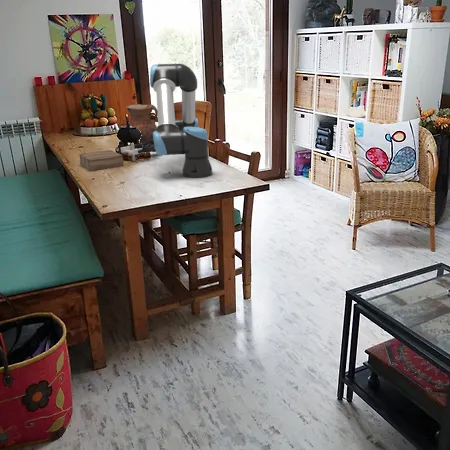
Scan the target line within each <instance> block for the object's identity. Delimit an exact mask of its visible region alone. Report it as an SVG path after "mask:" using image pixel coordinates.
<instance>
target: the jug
mask: <svg viewBox="0 0 450 450" xmlns="http://www.w3.org/2000/svg"><path fill="white" fill-rule="evenodd" d="M125 109H126V110H127V112H128V113H129V121H128V123H129V125H130V126H132V127H136V128H137V129H138V130H140V131H141V135H142V136H141V139H140V143H143V144H145V143H148V142H149V140H151V139H153V132H154V131H156V127H157V126H158V125H157V124H156V122H157V120H158V111H157V106H155V105H154V104H139V103H137V104H136V103H135V104H129V105H126V106H125ZM152 111H154V117H153V118H151V112H152Z"/></svg>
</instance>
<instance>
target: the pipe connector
mask: <svg viewBox="0 0 450 450" xmlns="http://www.w3.org/2000/svg"><path fill="white" fill-rule="evenodd" d="M130 145H131V150H124V152H123V153H124V154H128V156H131V160H132V161H133V162H136V159H137V158H136V155H133V154H132V150H135V148H134V143H130Z"/></svg>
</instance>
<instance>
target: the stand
mask: <svg viewBox="0 0 450 450" xmlns="http://www.w3.org/2000/svg"><path fill="white" fill-rule="evenodd" d="M79 162H80V166H81V167H83V168H85V169H87V170H88V171H89V172H95V171H102V170H108V168H109V169H115V167H116V168H121V166H122V167H124V158H123V154H120V153H118V152H116V151H114V150H111V149H106V150H100V151H93V152H87V153H80V154H79Z"/></svg>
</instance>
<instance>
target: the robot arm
mask: <svg viewBox="0 0 450 450" xmlns="http://www.w3.org/2000/svg"><path fill="white" fill-rule="evenodd" d="M149 71H150V72H149V74H150V76H149V82H150V83H149V85H150V87H151V88H152V89H153V91H154V92H155V93H156V109H157V111H158V116H157V125H156V126H157V127H156V131H154V132H153V139H151V140H149V142H148V143H145V144H143V143H140V144H134V148H135V150H132V154H133V155H135V156H136V155H141V154H145V153H146V154H149V153H156V154H157V155H158V156H173V155H174V156H175V155H184V163H183V167H182V171H181V172H182V176H184V177H186V178H193V179H194V178H196V179H198V178H205V177H208V176H209V177H210V176H211V175H213V168H212V165H211V162H210V159H209V145H208V144H209V143H208V140H209V137H208V131H207V130H206V129H205V128H202V127H199V119H198V117H196V91H197V89H198V79H197V77H196V75H195V73H194V71H193V70H192V69H191V67H189V66H187V65H186V64H183V63H158V64H153V65H151V67H150V70H149ZM177 87H178V88H179V89H180V90H181V109H182V111H181V112H182V114H181V115H182V117H181V118H176V117H175V116H176V115H175V103H174V102H175V101H174V92H175V90H176V88H177ZM124 150H131V144H127V146H123V147H120V153H124Z"/></svg>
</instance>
